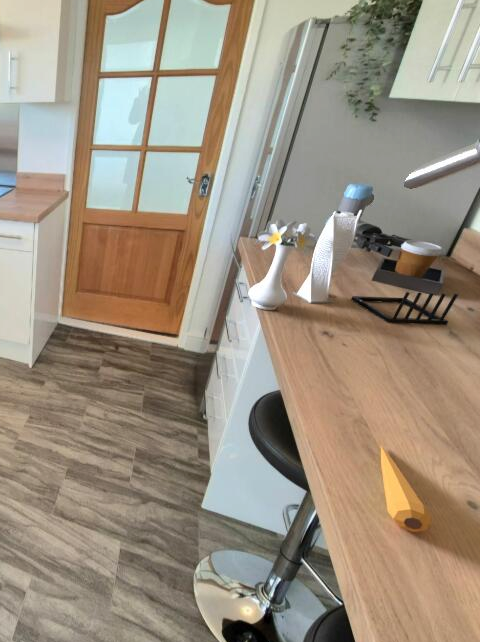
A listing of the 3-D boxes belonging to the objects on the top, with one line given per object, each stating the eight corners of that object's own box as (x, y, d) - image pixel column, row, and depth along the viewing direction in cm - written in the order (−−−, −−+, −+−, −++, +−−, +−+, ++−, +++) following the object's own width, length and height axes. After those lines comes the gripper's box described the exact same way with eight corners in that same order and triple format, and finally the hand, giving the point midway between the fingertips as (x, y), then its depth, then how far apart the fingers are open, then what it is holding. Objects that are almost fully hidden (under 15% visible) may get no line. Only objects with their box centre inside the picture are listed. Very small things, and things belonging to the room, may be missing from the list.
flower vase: (294, 301, 128) (327, 219, 116) (282, 323, 116) (317, 234, 104) (245, 288, 135) (271, 210, 124) (229, 308, 123) (256, 224, 112)
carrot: (415, 542, 61) (445, 527, 59) (382, 519, 62) (410, 504, 60) (382, 460, 77) (405, 446, 75) (356, 443, 78) (378, 429, 76)
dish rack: (403, 301, 128) (418, 273, 124) (446, 324, 115) (464, 295, 111) (350, 299, 129) (363, 272, 125) (388, 322, 116) (403, 293, 112)
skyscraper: (336, 305, 126) (378, 211, 113) (310, 305, 125) (349, 211, 112) (313, 292, 133) (351, 203, 120) (289, 293, 132) (323, 203, 120)
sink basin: (377, 268, 151) (382, 257, 149) (438, 281, 141) (444, 270, 139) (371, 280, 141) (376, 269, 140) (435, 295, 132) (442, 283, 130)
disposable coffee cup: (379, 275, 144) (395, 241, 138) (398, 272, 146) (415, 238, 141) (413, 287, 136) (432, 251, 130) (432, 283, 138) (451, 248, 133)
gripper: (393, 243, 159) (446, 265, 140) (323, 241, 160) (366, 263, 141) (403, 224, 155) (458, 243, 137) (331, 222, 157) (377, 241, 138)
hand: (412, 253), depth 139 cm, fingers open, 13 cm apart
